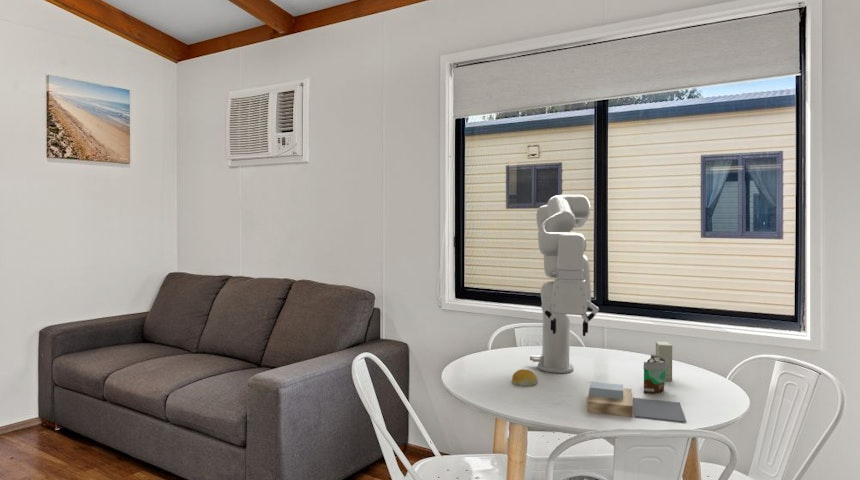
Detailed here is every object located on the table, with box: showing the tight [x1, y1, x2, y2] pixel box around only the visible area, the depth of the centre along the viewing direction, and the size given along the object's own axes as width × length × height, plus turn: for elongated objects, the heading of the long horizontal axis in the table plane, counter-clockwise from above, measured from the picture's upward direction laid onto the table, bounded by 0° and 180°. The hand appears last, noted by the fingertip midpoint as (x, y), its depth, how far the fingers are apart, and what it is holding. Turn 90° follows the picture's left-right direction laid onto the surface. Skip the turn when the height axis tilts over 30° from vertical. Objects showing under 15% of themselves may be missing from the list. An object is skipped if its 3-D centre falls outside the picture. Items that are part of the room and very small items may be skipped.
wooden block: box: [586, 384, 634, 418], centre depth 162 cm, size 12×16×3 cm
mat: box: [632, 397, 687, 423], centre depth 158 cm, size 13×16×1 cm
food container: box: [643, 354, 668, 395], centre depth 176 cm, size 12×6×10 cm, turn 148°
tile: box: [589, 381, 624, 399], centre depth 162 cm, size 9×6×2 cm, turn 72°
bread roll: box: [511, 369, 538, 387], centre depth 184 cm, size 8×9×4 cm
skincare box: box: [655, 340, 673, 382], centre depth 189 cm, size 6×4×12 cm
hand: (569, 333), depth 165 cm, fingers open, 8 cm apart
